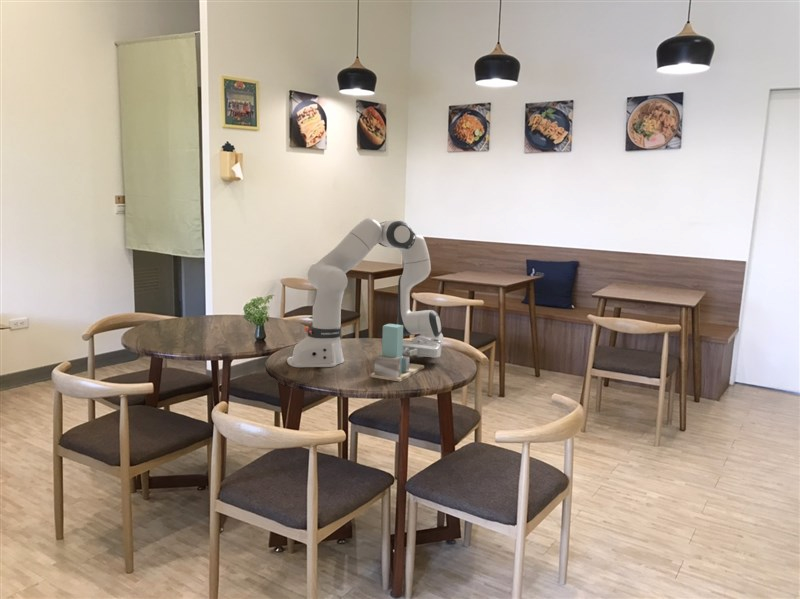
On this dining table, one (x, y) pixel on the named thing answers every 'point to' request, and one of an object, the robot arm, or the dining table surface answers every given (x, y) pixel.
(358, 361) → the dining table surface
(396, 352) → the teal block
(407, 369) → the block
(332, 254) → the robot arm
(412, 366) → the vise base
